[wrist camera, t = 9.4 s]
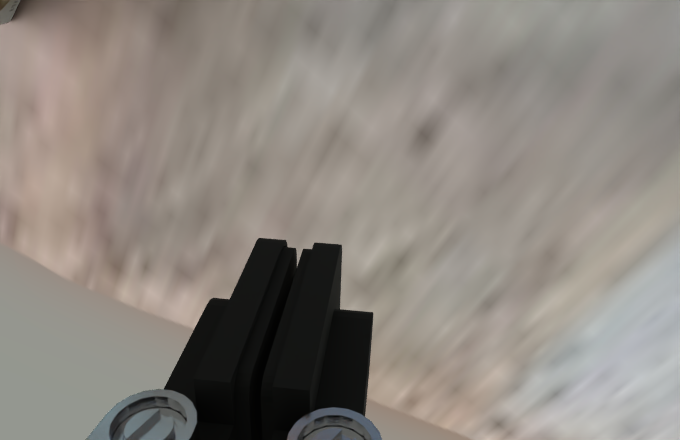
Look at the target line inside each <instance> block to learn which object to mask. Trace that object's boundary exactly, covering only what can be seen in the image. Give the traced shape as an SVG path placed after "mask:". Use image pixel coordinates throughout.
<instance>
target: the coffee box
mask: <svg viewBox="0 0 680 440" xmlns="http://www.w3.org/2000/svg"><path fill="white" fill-rule="evenodd" d="M20 1H21V0H0V25H1V24H5V23H8V22H10V21H11V19H12V17H13V15H14V13H15V11H16V8H17V6H18V4H19V3H20Z"/></svg>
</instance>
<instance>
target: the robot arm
mask: <svg viewBox="0 0 680 440" xmlns="http://www.w3.org/2000/svg"><path fill="white" fill-rule="evenodd" d="M341 263H342V245H338V244H326V243H314V245H313V248H312V249H303V251H302V254H301V257H300V260H299V263H298V267H297V253H296V248H288V247H287V242H286V240H277V239H265V238H258V240H257V242H256V244H255V246H254V248H253V250H252V252H251V255H250V257H249V259H248V261H247V263H246V265H245V268H244V270H243V272H242V274H241V276H240V278H239V281H238V283H237V285H236V287H235V289H234V291H233V294H232V296H231V298H230V299H219V298H212V299H211V300H210V301H209V302H208V304H207V306H206V308H205V310H204V312H203V313H202V315H201V317H200V319H199V321H198V323H197V325H196V327H195V329H194V331H193V333H192V335H191V337H190V339H189V341H188V343H187V345H186V347H185V349H184V351H183V353H182V354H181V356H180V358H179V361H178V362H177V364H176V366H175V368H174V370H173V372H172V374H171V376H170V378H169V380H168V382H167V384H166V386H165V388H164V390H163V389H156V390H148V391H143V392H140V393H137V394H134V395H132V396H129V397H127V398H126V399H124V400H122V401H121V402H119V403H117V404H116V405H115V406H114V407H113V408H112V409H111V410H110V411H109V412H108V413H107V414H106V415H105V416H104V418H103V419H102V420H101V421H100V423H99V424H98V425H97V426H96V428H95V429H94V430H93V431H92V432H91V434H90V435H89V436H88V438H87V439H86V440H382V438H381V436H380V432H379V431H378V429H377V428H376V427H375V426H374V424H373V423H372V422H371V421H370V420H369V419H367V418H366V417H365V409H366V399H367V389H368V377H369V366H370V353H371V340H372V325H373V312H362V311H351V310H340V291H341Z"/></svg>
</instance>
